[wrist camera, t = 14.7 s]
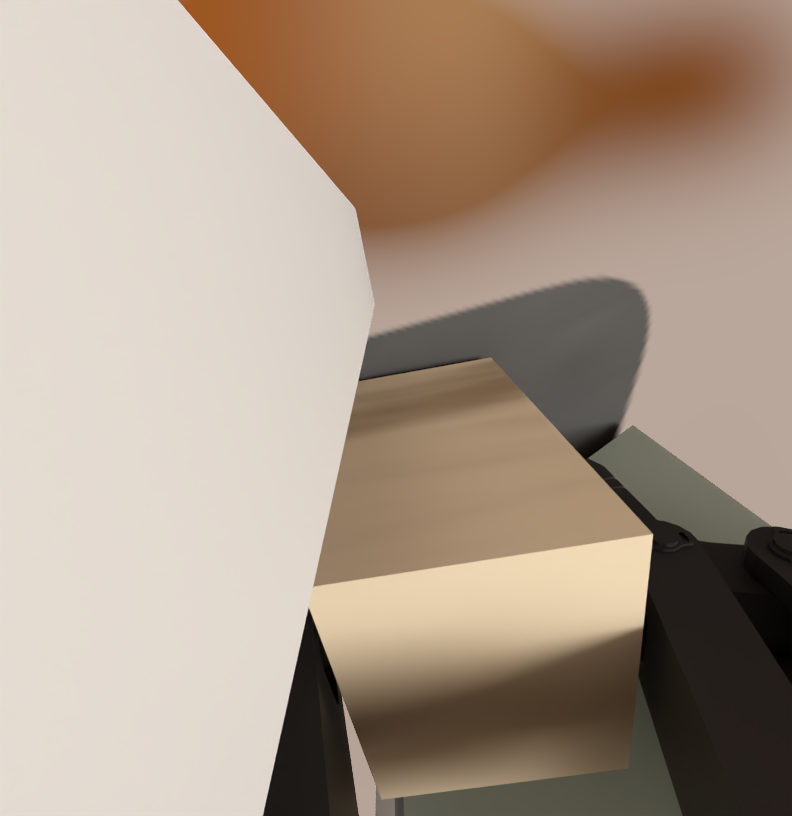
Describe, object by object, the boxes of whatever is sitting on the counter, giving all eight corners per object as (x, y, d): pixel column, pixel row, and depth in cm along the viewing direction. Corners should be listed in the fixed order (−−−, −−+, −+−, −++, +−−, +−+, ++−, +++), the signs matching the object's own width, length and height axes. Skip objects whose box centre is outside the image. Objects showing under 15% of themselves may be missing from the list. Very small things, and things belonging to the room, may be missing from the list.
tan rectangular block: (351, 382, 14) (301, 587, 6) (490, 357, 14) (652, 533, 5) (383, 515, 16) (381, 799, 8) (502, 496, 16) (629, 768, 8)
